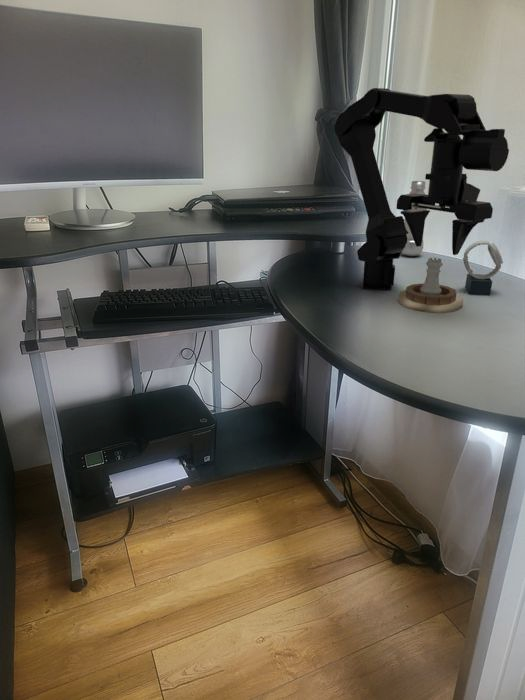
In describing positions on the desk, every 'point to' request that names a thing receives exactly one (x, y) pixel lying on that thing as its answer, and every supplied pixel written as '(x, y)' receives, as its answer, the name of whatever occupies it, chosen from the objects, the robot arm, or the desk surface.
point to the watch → (478, 282)
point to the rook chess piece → (432, 278)
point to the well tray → (430, 299)
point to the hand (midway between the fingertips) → (436, 250)
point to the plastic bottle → (410, 246)
